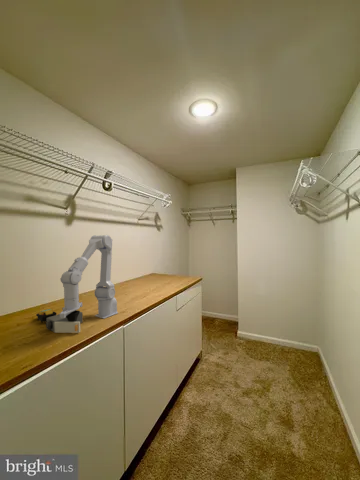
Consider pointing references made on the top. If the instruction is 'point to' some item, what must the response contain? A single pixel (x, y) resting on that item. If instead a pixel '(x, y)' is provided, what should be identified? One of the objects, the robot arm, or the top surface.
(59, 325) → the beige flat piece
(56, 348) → the top surface
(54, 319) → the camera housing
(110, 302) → the robot arm
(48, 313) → the gadget
